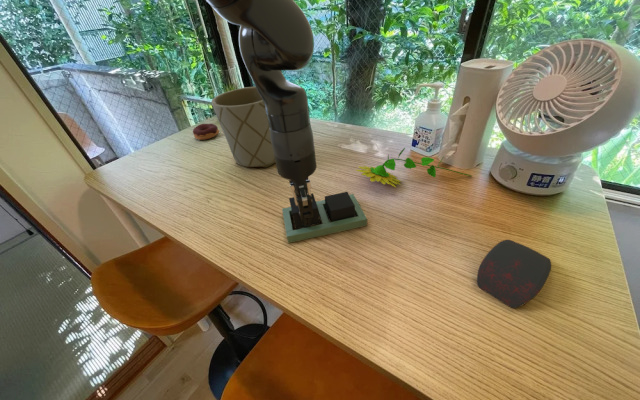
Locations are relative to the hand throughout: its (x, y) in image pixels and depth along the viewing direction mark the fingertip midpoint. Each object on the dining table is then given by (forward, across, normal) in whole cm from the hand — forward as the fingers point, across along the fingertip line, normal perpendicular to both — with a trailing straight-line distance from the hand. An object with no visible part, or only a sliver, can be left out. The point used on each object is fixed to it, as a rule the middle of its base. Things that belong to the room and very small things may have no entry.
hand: (305, 216), depth 56 cm
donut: (+2, -64, -30) cm, 71 cm away
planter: (+2, -37, -9) cm, 38 cm away
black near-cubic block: (+2, 0, +8) cm, 8 cm away
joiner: (+2, 0, +4) cm, 4 cm away
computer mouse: (+2, +23, +32) cm, 40 cm away
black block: (+1, 0, 0) cm, 1 cm away
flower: (+2, -9, +30) cm, 31 cm away
